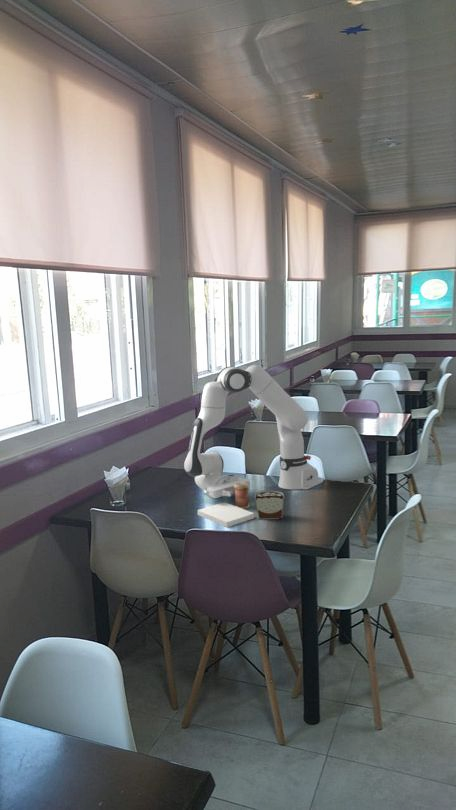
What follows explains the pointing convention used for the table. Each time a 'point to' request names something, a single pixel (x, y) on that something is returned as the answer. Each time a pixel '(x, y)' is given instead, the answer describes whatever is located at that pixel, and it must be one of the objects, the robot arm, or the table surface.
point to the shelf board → (225, 514)
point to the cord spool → (241, 495)
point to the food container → (269, 504)
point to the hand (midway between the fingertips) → (239, 491)
